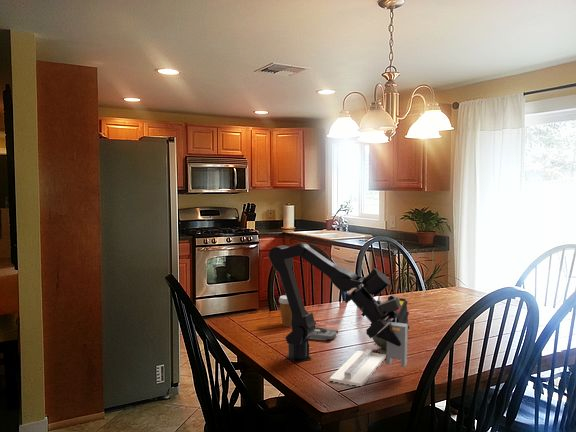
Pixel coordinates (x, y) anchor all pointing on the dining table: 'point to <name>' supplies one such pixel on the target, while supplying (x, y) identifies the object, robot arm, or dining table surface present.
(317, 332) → the graphics card
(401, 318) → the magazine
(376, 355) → the mounting board
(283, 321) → the disposable coffee cup
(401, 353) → the module
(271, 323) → the dining table surface
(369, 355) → the metal rail
